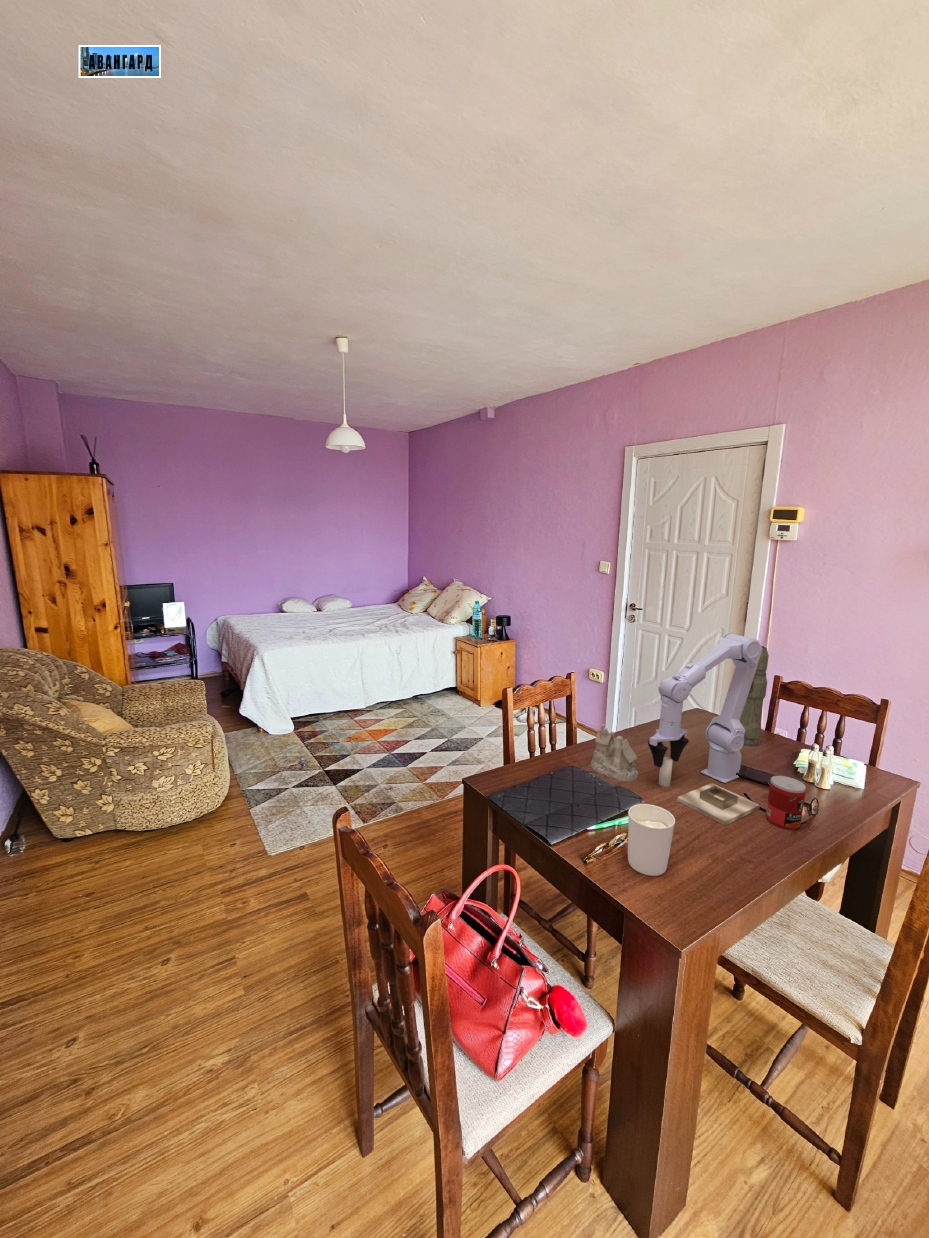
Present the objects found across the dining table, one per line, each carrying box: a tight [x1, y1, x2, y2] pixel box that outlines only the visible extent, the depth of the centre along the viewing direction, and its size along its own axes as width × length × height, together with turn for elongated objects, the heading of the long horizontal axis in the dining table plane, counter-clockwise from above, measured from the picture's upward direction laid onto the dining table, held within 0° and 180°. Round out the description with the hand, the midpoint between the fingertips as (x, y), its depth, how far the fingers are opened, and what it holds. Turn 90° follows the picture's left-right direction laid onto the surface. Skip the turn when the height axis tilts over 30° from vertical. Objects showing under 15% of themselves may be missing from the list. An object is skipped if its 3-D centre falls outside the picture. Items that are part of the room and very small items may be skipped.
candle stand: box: [676, 782, 760, 827], centre depth 142 cm, size 16×14×3 cm
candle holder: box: [627, 803, 676, 877], centre depth 116 cm, size 10×10×12 cm
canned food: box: [765, 775, 807, 831], centre depth 134 cm, size 8×8×11 cm
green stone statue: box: [740, 645, 770, 747], centre depth 183 cm, size 9×12×35 cm
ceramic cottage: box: [590, 723, 639, 782], centre depth 163 cm, size 16×16×15 cm
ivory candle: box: [658, 756, 673, 788], centre depth 153 cm, size 3×3×8 cm
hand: (666, 763), depth 152 cm, fingers open, 7 cm apart
